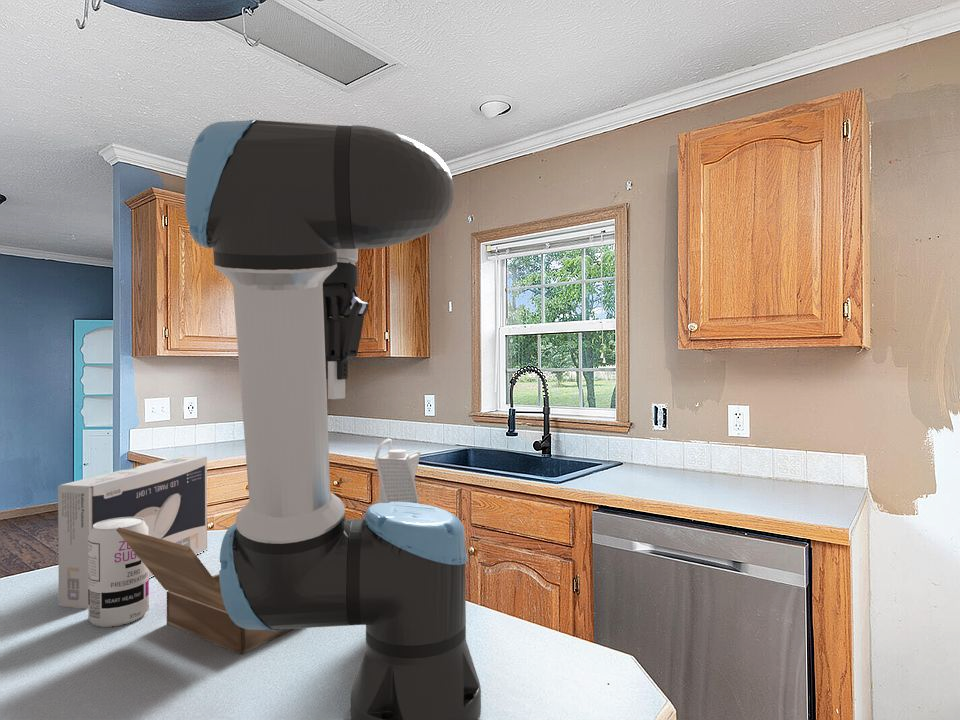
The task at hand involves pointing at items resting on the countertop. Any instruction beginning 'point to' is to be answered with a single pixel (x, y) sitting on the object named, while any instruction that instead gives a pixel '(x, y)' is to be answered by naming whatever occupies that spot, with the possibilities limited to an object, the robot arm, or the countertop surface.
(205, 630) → the box
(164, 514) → the packaging
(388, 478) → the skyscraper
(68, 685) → the countertop surface
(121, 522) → the supplement can
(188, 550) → the lid
